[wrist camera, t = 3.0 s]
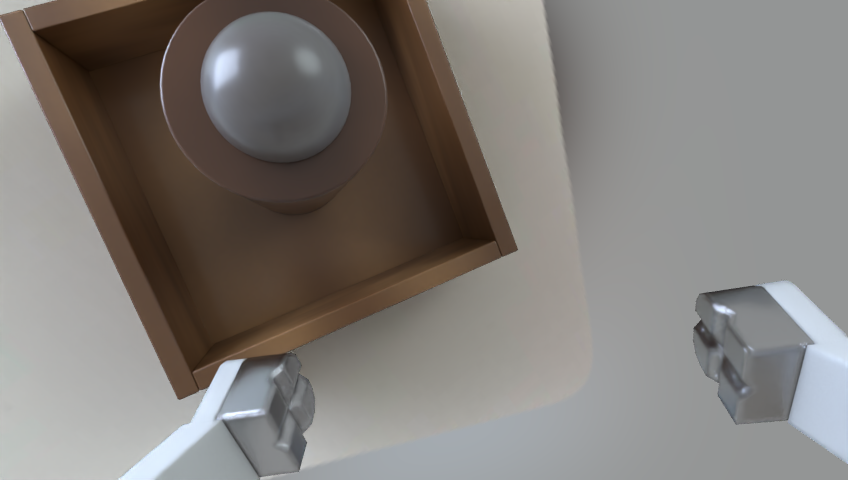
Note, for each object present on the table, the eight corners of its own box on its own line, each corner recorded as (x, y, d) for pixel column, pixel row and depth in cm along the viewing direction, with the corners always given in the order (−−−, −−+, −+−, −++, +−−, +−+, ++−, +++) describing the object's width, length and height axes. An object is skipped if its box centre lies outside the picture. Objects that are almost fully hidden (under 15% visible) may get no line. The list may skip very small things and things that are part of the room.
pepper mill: (322, 94, 23) (347, -94, 10) (361, 192, 24) (438, 147, 10) (218, 129, 22) (80, -27, 9) (262, 231, 23) (198, 237, 9)
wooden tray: (376, -25, 24) (394, -89, 20) (478, 245, 26) (518, 250, 21) (67, 63, 21) (-4, 15, 16) (205, 363, 23) (178, 401, 18)
